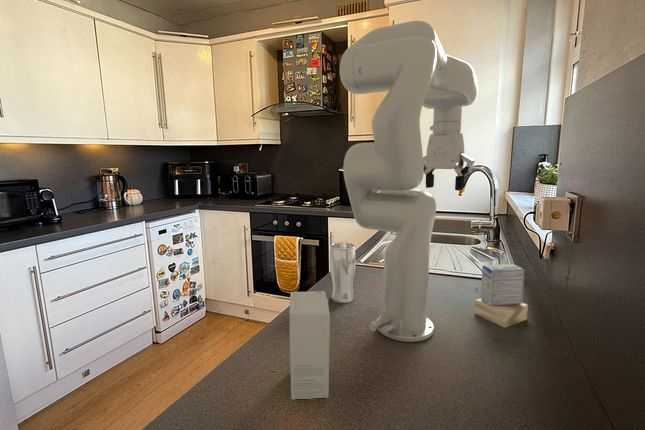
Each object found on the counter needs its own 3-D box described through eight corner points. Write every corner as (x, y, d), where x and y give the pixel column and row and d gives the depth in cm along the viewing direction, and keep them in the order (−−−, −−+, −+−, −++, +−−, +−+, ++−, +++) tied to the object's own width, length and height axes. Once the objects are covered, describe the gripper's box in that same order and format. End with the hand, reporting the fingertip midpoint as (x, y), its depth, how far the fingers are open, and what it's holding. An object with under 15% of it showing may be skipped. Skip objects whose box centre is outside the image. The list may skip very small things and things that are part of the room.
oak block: (504, 329, 79) (505, 312, 78) (474, 315, 86) (475, 299, 85) (526, 320, 82) (528, 304, 82) (496, 307, 89) (497, 293, 89)
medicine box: (511, 297, 86) (513, 263, 85) (522, 304, 81) (525, 268, 80) (480, 299, 85) (481, 264, 84) (490, 306, 81) (492, 270, 80)
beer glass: (358, 295, 97) (359, 243, 94) (350, 306, 91) (350, 250, 88) (335, 292, 100) (335, 241, 97) (325, 301, 94) (325, 247, 91)
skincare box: (291, 370, 64) (288, 290, 62) (327, 368, 65) (326, 289, 62) (290, 402, 56) (287, 312, 53) (331, 400, 57) (330, 310, 54)
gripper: (413, 130, 104) (411, 187, 107) (468, 126, 91) (464, 192, 94) (428, 130, 109) (426, 185, 112) (482, 127, 95) (478, 189, 98)
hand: (443, 188), depth 103 cm, fingers open, 9 cm apart
